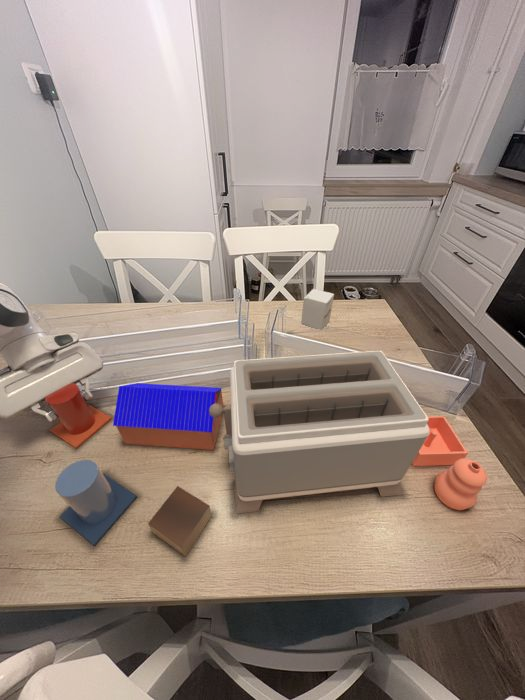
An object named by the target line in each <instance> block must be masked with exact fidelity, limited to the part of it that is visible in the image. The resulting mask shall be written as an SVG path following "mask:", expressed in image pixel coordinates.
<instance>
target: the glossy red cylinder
mask: <svg viewBox="0 0 525 700" xmlns="http://www.w3.org/2000/svg"><path fill="white" fill-rule="evenodd" d="M82 394H83V392H82V391H81V389H80V387H79V385H78V384H77V383H76V384H74V383H70V384H68V385H66V386H64V387H62V388H60V389H59V390H57V391H55V392H53V393H51V394H49V395H47V396H46V397H45V400H44V401H45V402H46V404H47V405H48V406H49V408H50V409H51V411H53V412H54V414H55V415H56V416H57V417H58V418H57V420H58V421H59V423H61V424H62V426H63V427H64V429H65V430H66V431H67V433H69V434H72V435H77V434H81V433H83V432H85V431H87V430H88V429H90V428H91V427H92V426H93V424H94V422H95V416H94V414H93V413H92V411H91V409H90V407H89V405H90V404H89V403H88V401H86V400H85V398H84V396H83V395H82ZM88 404H89V405H88Z"/></svg>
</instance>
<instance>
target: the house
mask: <svg viewBox="0 0 525 700" xmlns="http://www.w3.org/2000/svg"><path fill="white" fill-rule="evenodd" d="M222 389H223V387H212V386H211V387H210V386H194V385H192V386H191V385H178V384H177V385H176V384H162V383H161V384H159V383H157V384H156V383H140V382H136V383H130V384H125V385H120V386H118V391H117V397H116V404H115V410H114V418H113V424H112V426H114V427H116V429H117V431H118V433H119V434H120V436H121V439H122V440H123V443H124V444H125V445H138V446H152V447H166V448H180V449H195V450H206V451H207V450H209V451H214V450H215V447H216V443H217V438H218V434H219V430H220V425H221V421H222V416H223V414H222V415H221V416H220V417H218V418H214V417H212V416H211V415H210V414H209V408H210V406H211V405H213V404H215V403H217V404H220V405H221V406H222V408H223V407H224V401H223V392H222Z"/></svg>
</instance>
